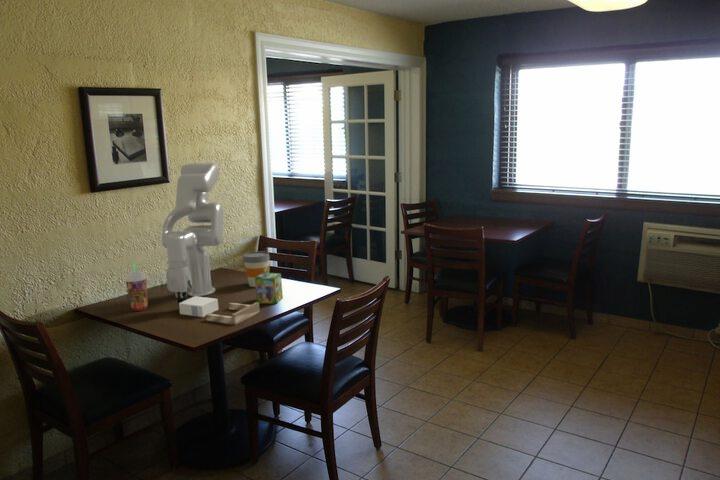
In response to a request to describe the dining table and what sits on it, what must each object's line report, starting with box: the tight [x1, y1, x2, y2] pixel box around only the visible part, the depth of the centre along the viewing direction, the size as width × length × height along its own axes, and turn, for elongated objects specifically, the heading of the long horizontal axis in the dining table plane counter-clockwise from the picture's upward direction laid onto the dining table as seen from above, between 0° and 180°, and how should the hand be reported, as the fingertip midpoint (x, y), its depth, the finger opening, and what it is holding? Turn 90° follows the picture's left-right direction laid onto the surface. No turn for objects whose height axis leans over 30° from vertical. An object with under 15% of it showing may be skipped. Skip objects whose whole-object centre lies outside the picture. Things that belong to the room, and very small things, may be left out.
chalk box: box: [255, 267, 284, 305], centre depth 250 cm, size 9×9×15 cm
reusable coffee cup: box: [242, 250, 271, 288], centre depth 276 cm, size 13×13×15 cm
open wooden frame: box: [205, 301, 261, 325], centre depth 233 cm, size 14×16×4 cm
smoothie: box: [125, 263, 149, 312], centre depth 244 cm, size 8×8×20 cm
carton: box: [178, 296, 219, 318], centre depth 240 cm, size 12×10×5 cm
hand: (182, 306), depth 243 cm, fingers closed
